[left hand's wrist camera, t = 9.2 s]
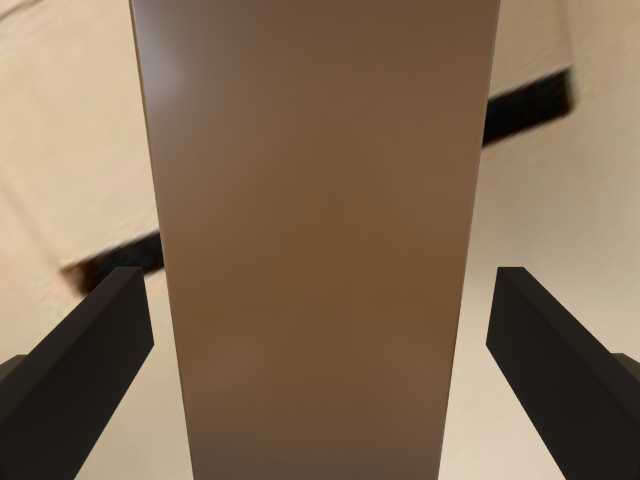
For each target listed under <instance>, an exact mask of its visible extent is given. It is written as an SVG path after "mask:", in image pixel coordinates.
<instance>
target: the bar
mask: <svg viewBox="0 0 640 480" xmlns="http://www.w3.org/2000/svg"><path fill="white" fill-rule="evenodd" d="M500 1H501V0H129V7H130V14H131V22H132V29H133V36H134V44H135V51H136V58H137V66H138V73H139V81H140V88H141V95H142V103H143V110H144V117H145V125H146V132H147V139H148V147H149V154H150V162H151V169H152V176H153V184H154V191H155V198H156V206H157V213H158V221H159V228H160V235H161V243H162V250H163V257H164V265H165V272H166V279H167V287H168V294H169V302H170V309H171V316H172V324H173V331H174V338H175V346H176V353H177V360H178V368H179V375H180V383H181V390H182V397H183V405H184V412H185V419H186V427H187V434H188V441H189V449H190V456H191V464H192V471H193V478H194V480H438V475H439V468H440V460H441V452H442V445H443V437H444V429H445V422H446V414H447V406H448V399H449V391H450V384H451V376H452V368H453V361H454V353H455V345H456V338H457V330H458V322H459V315H460V307H461V299H462V292H463V284H464V276H465V269H466V261H467V253H468V246H469V238H470V230H471V223H472V215H473V207H474V200H475V192H476V184H477V177H478V169H479V162H480V154H481V146H482V139H483V131H484V123H485V116H486V108H487V100H488V93H489V85H490V77H491V70H492V62H493V54H494V47H495V39H496V31H497V24H498V16H499V8H500Z"/></svg>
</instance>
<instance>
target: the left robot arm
mask: <svg viewBox="0 0 640 480" xmlns="http://www.w3.org/2000/svg"><path fill="white" fill-rule="evenodd" d="M153 346H154V339H153V333H152V327H151V320H150V314H149V308H148V301H147V295H146V288H145V282H144V276H143V269H142V267H116V268H115V269H114V270H113V271H112V272H111V273H110V274H109V275H108V276H107V277H106V278H105V279H104V280H103V281H102V282H101V283H100V284H99V285H98V286H97V287H96V288H95V289H94V290H93V291H92V292H91V293H90V294H89V295H88V296H87V297H86V298H85V299H84V300H83V301H82V302H81V303H80V304H79V305H78V306H77V307H76V308H75V309H74V310H72V311H71V312H70V313H69V314H68V315H67V316H66V317H65V318H64V319H63V320H62V321H61V322H60V323H59V324H58V325H57V326H56V327H55V328H54V329H53V330H52V331H51V332H50V333H49V334H48V335H47V336H46V337H45V338H44V339H43V340H42V341H41V342H40V343H39V344H38V345H37V346H36V347H35V348H34V349H33V350H32V351H31V352H30V353H29V354H28V355H16V356H15V357H13V358H11V359H10V360H8V361H6V362H4V363H3V364H1V365H0V480H74V479H75V477H76V475H77V474H78V472H79V470H80V469H81V467H82V465H83V464H84V462H85V460H86V459H87V457H88V455H89V454H90V452H91V450H92V449H93V447H94V445H95V443H96V442H97V440H98V438H99V437H100V435H101V433H102V432H103V430H104V428H105V427H106V425H107V423H108V422H109V420H110V418H111V417H112V415H113V413H114V412H115V410H116V408H117V407H118V405H119V403H120V401H121V400H122V398H123V396H124V395H125V393H126V391H127V390H128V388H129V386H130V385H131V383H132V381H133V380H134V378H135V376H136V375H137V373H138V371H139V370H140V368H141V366H142V365H143V363H144V361H145V360H146V358H147V356H148V354H149V353H150V351H151V349H152V348H153ZM486 346H487V348H488V349H489V351H490V353H491V354H492V356H493V358H494V359H495V361H496V363H497V365H498V366H499V368H500V370H501V371H502V373H503V375H504V376H505V378H506V380H507V381H508V383H509V385H510V386H511V388H512V390H513V391H514V393H515V395H516V396H517V398H518V400H519V401H520V403H521V405H522V407H523V408H524V410H525V412H526V413H527V415H528V417H529V418H530V420H531V422H532V423H533V425H534V427H535V428H536V430H537V432H538V433H539V435H540V437H541V438H542V440H543V442H544V443H545V445H546V447H547V449H548V450H549V452H550V454H551V455H552V457H553V459H554V460H555V462H556V464H557V465H558V467H559V469H560V470H561V472H562V474H563V475H564V477H565V479H566V480H640V363H639V362H637V361H635V360H633V359H632V358H630V357H628V356H627V355H625V354H623V353H610V352H609V351H608V350H607V349H606V348H605V347H604V346H603V345H602V344H601V343H600V342H599V341H598V340H597V339H596V338H595V337H594V336H593V335H592V334H591V333H590V332H589V331H588V330H587V329H586V328H585V327H584V326H583V325H582V324H581V323H580V322H579V321H578V320H577V319H576V318H575V317H574V316H573V315H572V314H571V313H570V312H569V311H568V310H566V309H565V308H564V307H563V306H562V305H561V304H560V303H559V302H558V301H557V300H556V299H555V298H554V297H553V296H552V295H551V294H550V293H549V292H548V291H547V290H546V289H545V288H544V287H543V286H542V285H541V284H540V283H539V282H538V281H537V280H536V279H535V278H534V277H533V276H532V275H531V274H530V273H529V272H528V271H527V270H526V269H525V268H524V267H498V269H497V276H496V282H495V289H494V295H493V301H492V308H491V314H490V320H489V327H488V333H487V339H486Z"/></svg>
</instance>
